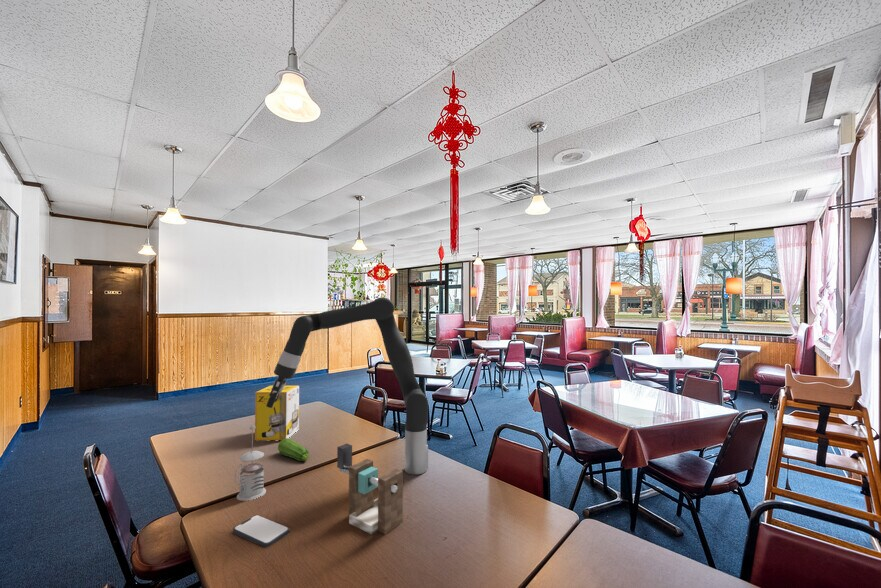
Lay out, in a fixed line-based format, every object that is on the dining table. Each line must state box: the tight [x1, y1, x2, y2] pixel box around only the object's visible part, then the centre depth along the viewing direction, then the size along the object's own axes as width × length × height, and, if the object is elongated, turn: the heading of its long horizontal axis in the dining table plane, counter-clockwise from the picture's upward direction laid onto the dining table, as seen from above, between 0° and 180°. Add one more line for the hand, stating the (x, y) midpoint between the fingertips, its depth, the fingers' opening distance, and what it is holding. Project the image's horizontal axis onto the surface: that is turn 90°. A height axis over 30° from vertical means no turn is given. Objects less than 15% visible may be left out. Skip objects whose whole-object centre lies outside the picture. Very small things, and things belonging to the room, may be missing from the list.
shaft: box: [336, 443, 398, 493], centre depth 121 cm, size 26×4×9 cm, turn 54°
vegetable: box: [277, 438, 310, 462], centre depth 167 cm, size 7×7×20 cm
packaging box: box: [254, 385, 300, 441], centre depth 195 cm, size 16×16×25 cm
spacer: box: [358, 466, 379, 494], centre depth 120 cm, size 3×6×6 cm, turn 144°
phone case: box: [232, 514, 290, 548], centre depth 111 cm, size 9×2×16 cm
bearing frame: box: [348, 458, 404, 536], centre depth 118 cm, size 16×13×16 cm
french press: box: [234, 424, 267, 502], centre depth 134 cm, size 10×12×25 cm
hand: (271, 404), depth 140 cm, fingers open, 8 cm apart
